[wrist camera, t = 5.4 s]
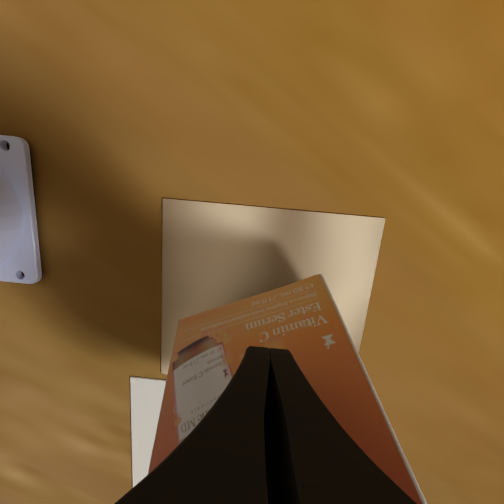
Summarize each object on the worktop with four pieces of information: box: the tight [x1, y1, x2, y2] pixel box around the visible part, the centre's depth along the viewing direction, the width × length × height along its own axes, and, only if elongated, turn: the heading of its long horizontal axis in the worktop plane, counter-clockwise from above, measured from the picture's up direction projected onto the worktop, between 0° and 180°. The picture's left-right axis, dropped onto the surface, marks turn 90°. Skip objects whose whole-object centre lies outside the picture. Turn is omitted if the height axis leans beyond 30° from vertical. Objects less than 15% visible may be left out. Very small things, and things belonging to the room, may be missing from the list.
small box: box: [148, 274, 427, 504], centre depth 11 cm, size 8×6×10 cm
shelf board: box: [161, 198, 385, 374], centre depth 17 cm, size 12×11×1 cm
